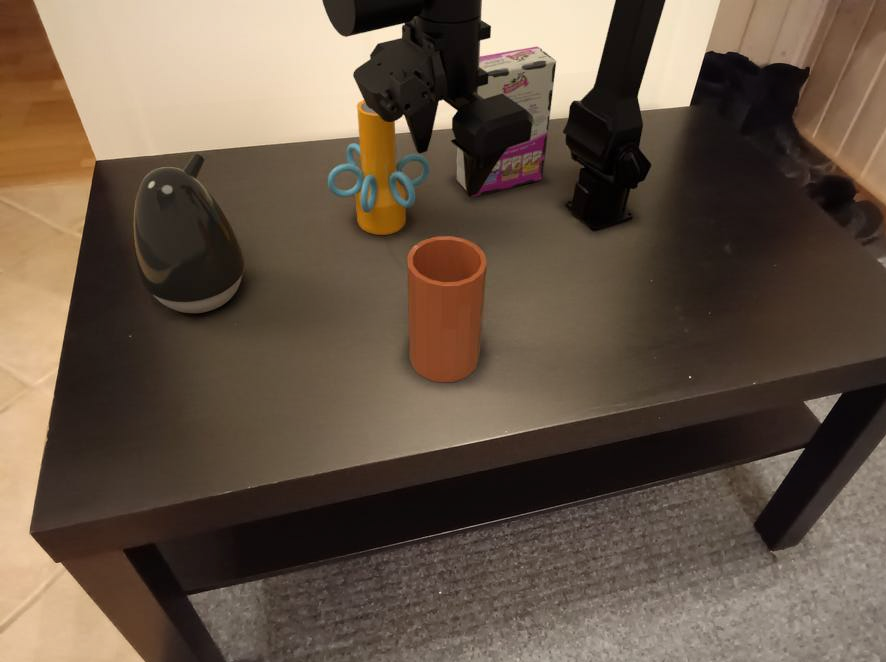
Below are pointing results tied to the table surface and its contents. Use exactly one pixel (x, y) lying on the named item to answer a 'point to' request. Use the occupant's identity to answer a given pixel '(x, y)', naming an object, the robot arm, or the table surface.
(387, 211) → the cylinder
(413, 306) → the pot
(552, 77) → the candy bar box
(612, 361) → the table surface
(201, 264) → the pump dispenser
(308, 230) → the table surface
